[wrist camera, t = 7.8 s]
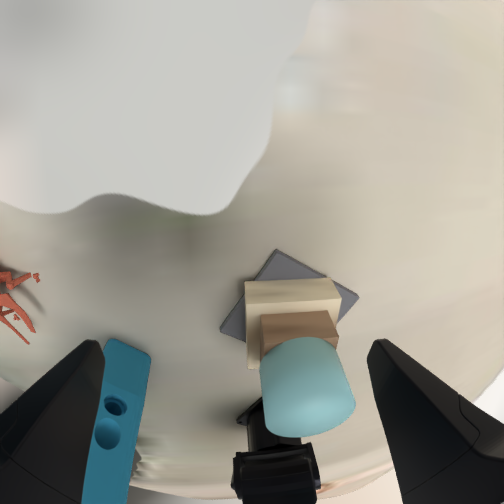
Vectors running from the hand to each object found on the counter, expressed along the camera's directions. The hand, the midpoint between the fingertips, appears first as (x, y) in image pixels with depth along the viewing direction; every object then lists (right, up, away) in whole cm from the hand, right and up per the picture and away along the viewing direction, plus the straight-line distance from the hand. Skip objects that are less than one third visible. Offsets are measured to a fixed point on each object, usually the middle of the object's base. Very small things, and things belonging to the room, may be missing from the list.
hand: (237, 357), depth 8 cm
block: (-14, -10, +19) cm, 26 cm away
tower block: (+4, -3, +13) cm, 14 cm away
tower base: (+3, -2, +16) cm, 17 cm away
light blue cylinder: (+4, -5, +11) cm, 12 cm away
